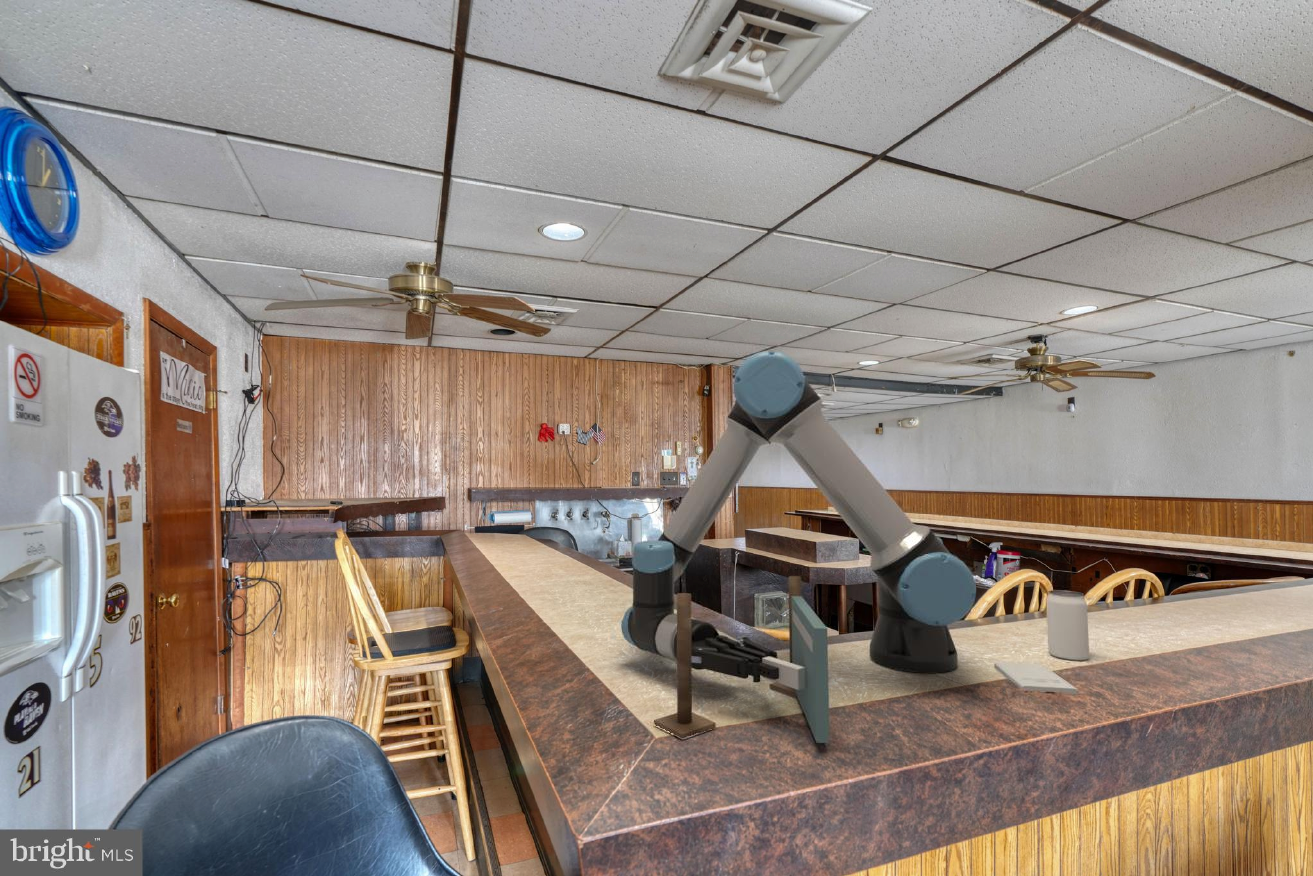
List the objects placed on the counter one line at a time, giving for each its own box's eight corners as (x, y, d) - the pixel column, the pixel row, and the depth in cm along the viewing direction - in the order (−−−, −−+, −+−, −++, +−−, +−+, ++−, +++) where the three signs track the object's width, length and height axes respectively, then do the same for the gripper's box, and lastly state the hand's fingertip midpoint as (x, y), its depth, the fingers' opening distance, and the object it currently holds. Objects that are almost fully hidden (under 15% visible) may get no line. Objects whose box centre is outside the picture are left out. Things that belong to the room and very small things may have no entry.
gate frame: (793, 681, 102) (792, 572, 103) (823, 690, 97) (821, 577, 98) (653, 726, 84) (653, 593, 85) (682, 740, 79) (681, 600, 80)
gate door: (792, 685, 96) (790, 596, 97) (803, 685, 96) (801, 596, 97) (816, 742, 76) (813, 628, 76) (830, 743, 75) (827, 628, 76)
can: (1097, 661, 112) (1094, 596, 113) (1062, 661, 113) (1059, 596, 113) (1074, 651, 119) (1071, 589, 120) (1041, 651, 119) (1038, 589, 120)
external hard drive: (1044, 674, 107) (1079, 698, 95) (994, 671, 109) (1022, 695, 97) (1044, 664, 108) (1078, 688, 95) (993, 661, 109) (1021, 684, 97)
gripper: (717, 657, 105) (831, 696, 86) (657, 672, 97) (769, 718, 78) (717, 613, 105) (830, 642, 87) (657, 624, 98) (768, 659, 79)
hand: (801, 678), depth 83 cm, fingers closed
